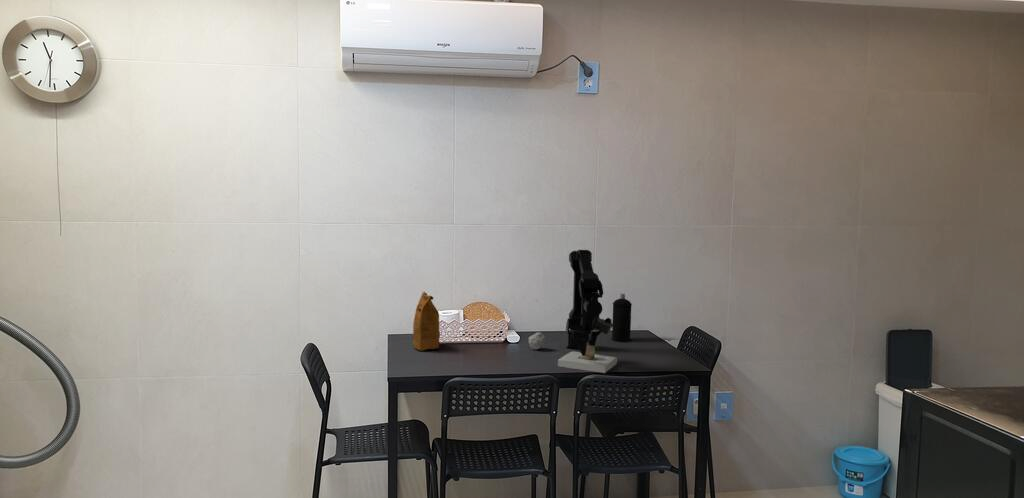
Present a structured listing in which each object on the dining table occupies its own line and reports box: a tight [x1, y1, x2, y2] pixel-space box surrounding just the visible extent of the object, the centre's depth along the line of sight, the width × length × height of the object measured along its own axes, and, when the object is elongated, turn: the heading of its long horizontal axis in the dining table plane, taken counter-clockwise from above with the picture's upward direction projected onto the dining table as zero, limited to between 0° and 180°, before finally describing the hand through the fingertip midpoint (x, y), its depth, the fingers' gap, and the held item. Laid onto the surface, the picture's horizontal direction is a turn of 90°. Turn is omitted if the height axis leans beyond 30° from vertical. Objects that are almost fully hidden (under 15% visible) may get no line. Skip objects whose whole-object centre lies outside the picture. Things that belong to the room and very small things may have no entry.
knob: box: [579, 344, 597, 361], centre depth 265 cm, size 6×5×6 cm
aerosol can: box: [611, 293, 633, 343], centre depth 305 cm, size 8×8×20 cm
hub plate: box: [557, 350, 618, 374], centre depth 265 cm, size 18×14×2 cm
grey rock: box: [527, 332, 546, 351], centre depth 287 cm, size 6×7×7 cm
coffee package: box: [412, 291, 441, 352], centre depth 286 cm, size 10×12×22 cm
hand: (588, 352), depth 265 cm, fingers open, 9 cm apart
